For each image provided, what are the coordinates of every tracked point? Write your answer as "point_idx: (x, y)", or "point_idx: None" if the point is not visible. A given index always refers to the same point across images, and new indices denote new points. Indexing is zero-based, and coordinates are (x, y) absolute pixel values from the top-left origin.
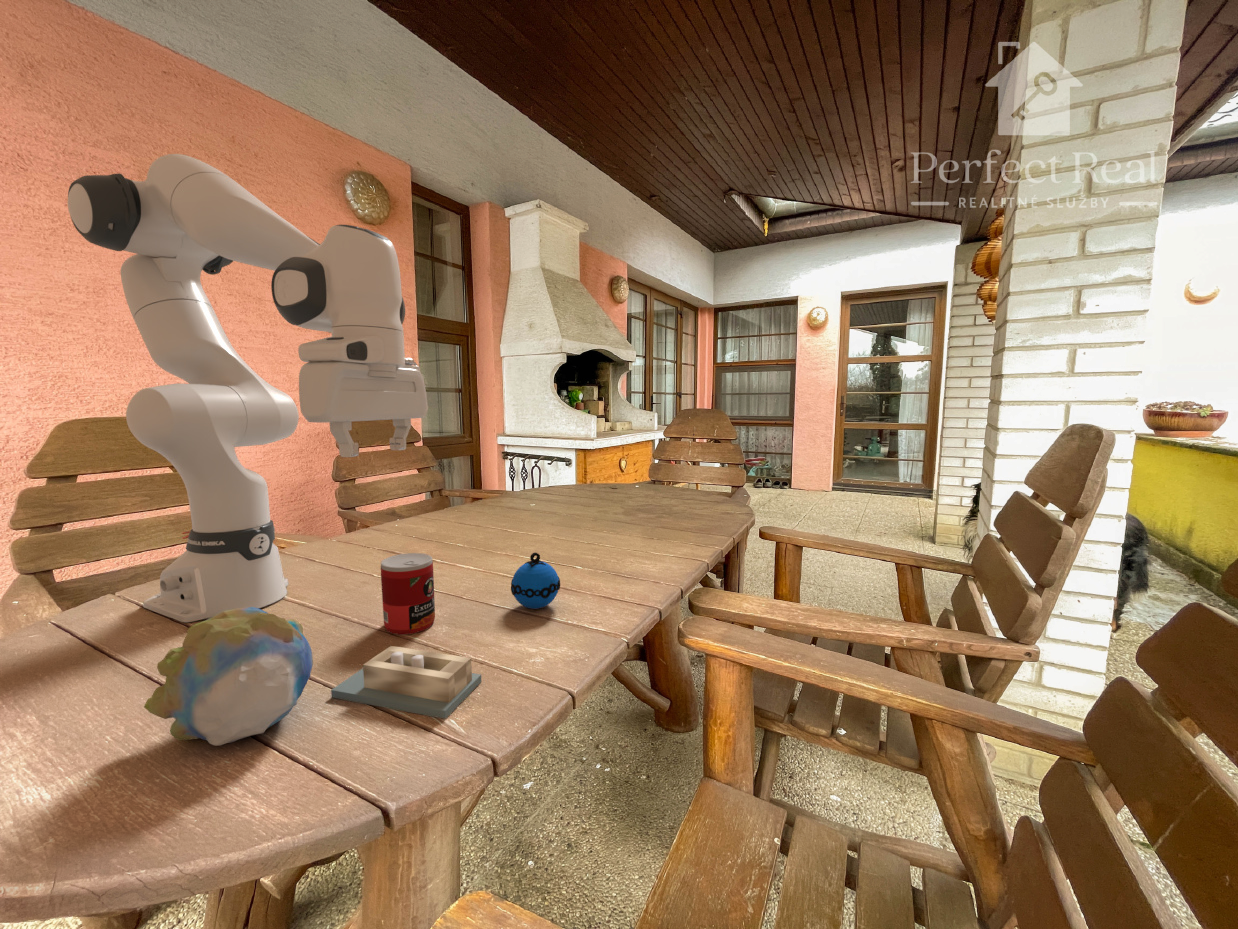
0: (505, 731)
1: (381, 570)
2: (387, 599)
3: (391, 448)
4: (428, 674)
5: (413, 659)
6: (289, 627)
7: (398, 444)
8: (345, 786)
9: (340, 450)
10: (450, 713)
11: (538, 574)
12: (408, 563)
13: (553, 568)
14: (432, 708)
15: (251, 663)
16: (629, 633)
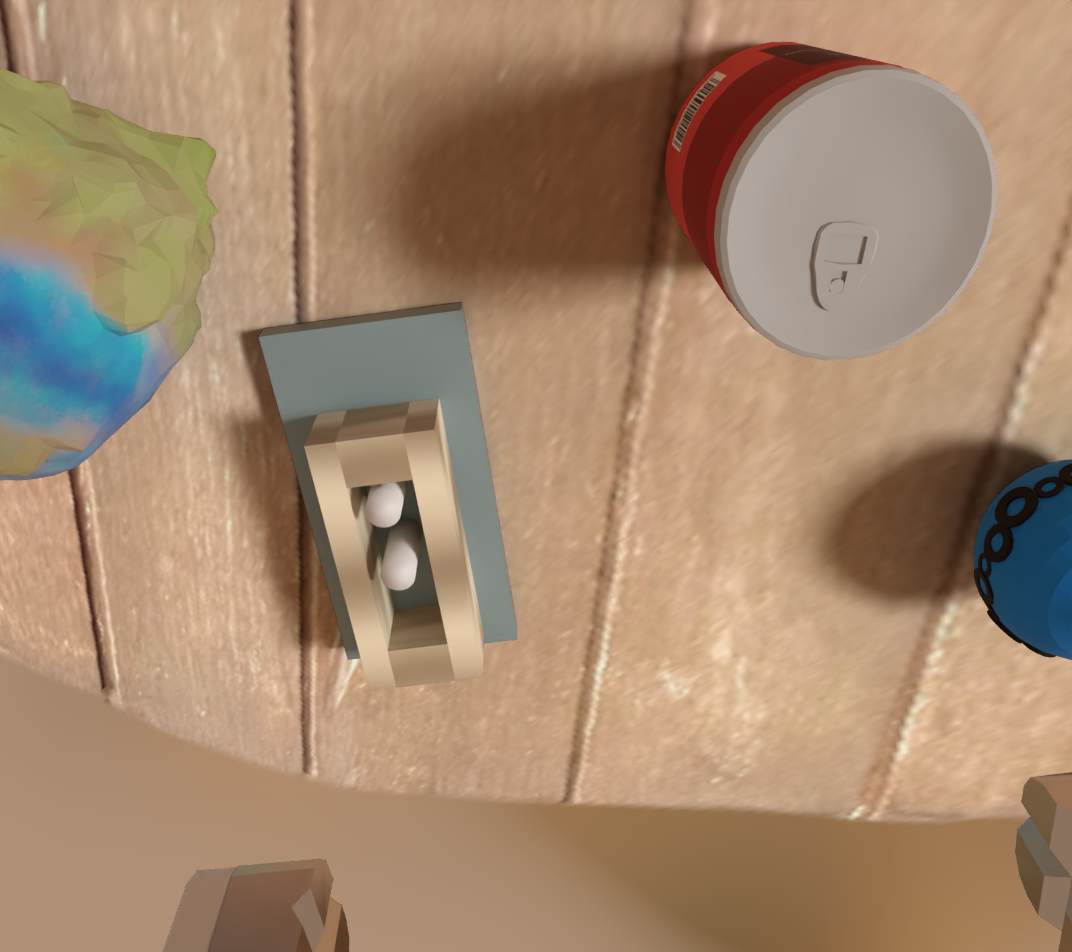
0: (380, 764)
1: (738, 143)
2: (688, 171)
3: (1039, 793)
4: (361, 637)
5: (383, 574)
6: (17, 475)
7: (1061, 913)
8: (95, 619)
9: (182, 927)
10: None
11: (1052, 642)
12: (834, 249)
13: None
14: (340, 630)
15: None
16: (894, 813)
